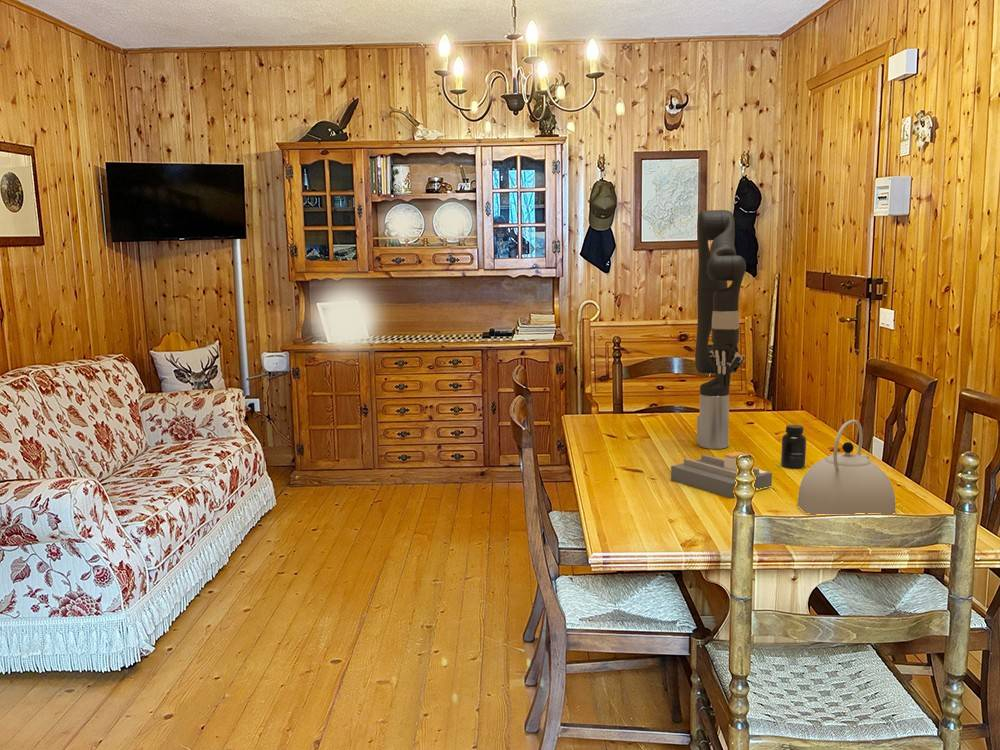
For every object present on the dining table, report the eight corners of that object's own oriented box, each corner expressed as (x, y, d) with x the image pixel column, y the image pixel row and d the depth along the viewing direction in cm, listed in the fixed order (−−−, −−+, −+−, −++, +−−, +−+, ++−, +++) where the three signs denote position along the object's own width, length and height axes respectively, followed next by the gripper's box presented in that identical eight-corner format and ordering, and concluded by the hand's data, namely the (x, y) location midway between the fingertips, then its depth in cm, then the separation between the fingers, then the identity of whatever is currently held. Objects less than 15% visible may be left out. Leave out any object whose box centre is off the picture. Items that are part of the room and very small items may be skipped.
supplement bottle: (795, 470, 251) (796, 429, 249) (776, 465, 256) (777, 425, 254) (810, 466, 254) (811, 426, 252) (791, 461, 260) (792, 422, 258)
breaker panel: (671, 479, 245) (671, 460, 244) (710, 469, 253) (710, 451, 252) (731, 498, 227) (731, 477, 226) (771, 487, 235) (772, 467, 234)
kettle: (821, 488, 233) (824, 406, 230) (910, 504, 218) (915, 416, 215) (782, 512, 215) (785, 423, 211) (877, 531, 200) (881, 436, 196)
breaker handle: (724, 472, 235) (724, 454, 234) (736, 469, 238) (736, 451, 237) (732, 475, 233) (732, 456, 232) (745, 472, 235) (745, 453, 234)
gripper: (698, 325, 248) (698, 385, 251) (734, 329, 238) (733, 391, 240) (716, 323, 253) (715, 382, 255) (752, 327, 242) (751, 388, 244)
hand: (724, 386), depth 248 cm, fingers closed
